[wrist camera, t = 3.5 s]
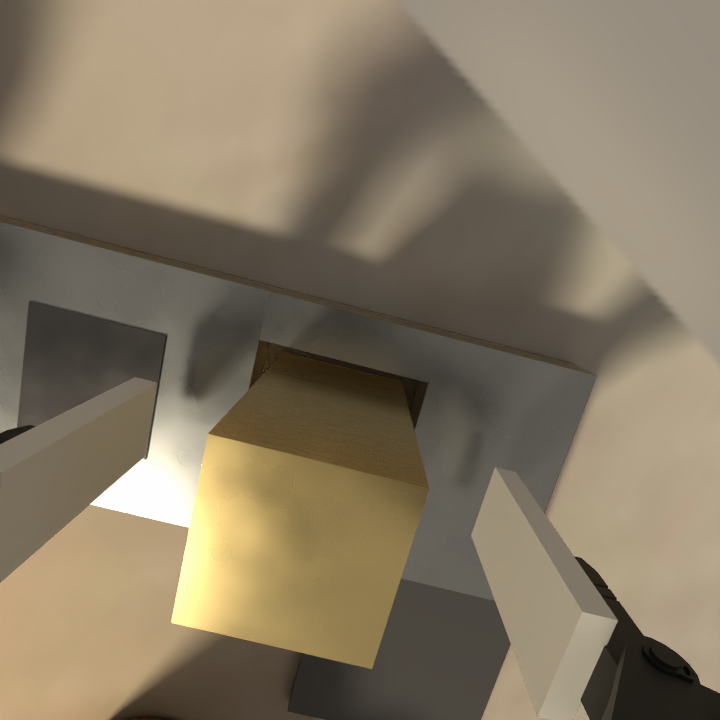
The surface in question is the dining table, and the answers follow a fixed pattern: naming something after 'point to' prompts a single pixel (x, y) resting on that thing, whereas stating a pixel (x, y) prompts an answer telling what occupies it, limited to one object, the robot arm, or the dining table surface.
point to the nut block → (305, 512)
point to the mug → (147, 719)
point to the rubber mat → (413, 663)
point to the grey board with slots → (244, 367)
